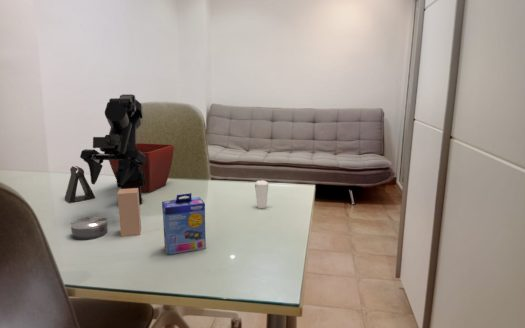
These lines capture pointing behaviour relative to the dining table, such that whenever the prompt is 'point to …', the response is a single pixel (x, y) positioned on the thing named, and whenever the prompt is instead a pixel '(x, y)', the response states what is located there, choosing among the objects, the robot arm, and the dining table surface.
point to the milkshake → (261, 193)
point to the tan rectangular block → (129, 212)
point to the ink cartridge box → (184, 224)
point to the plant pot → (153, 164)
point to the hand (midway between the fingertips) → (106, 184)
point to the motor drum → (89, 228)
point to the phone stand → (73, 186)
